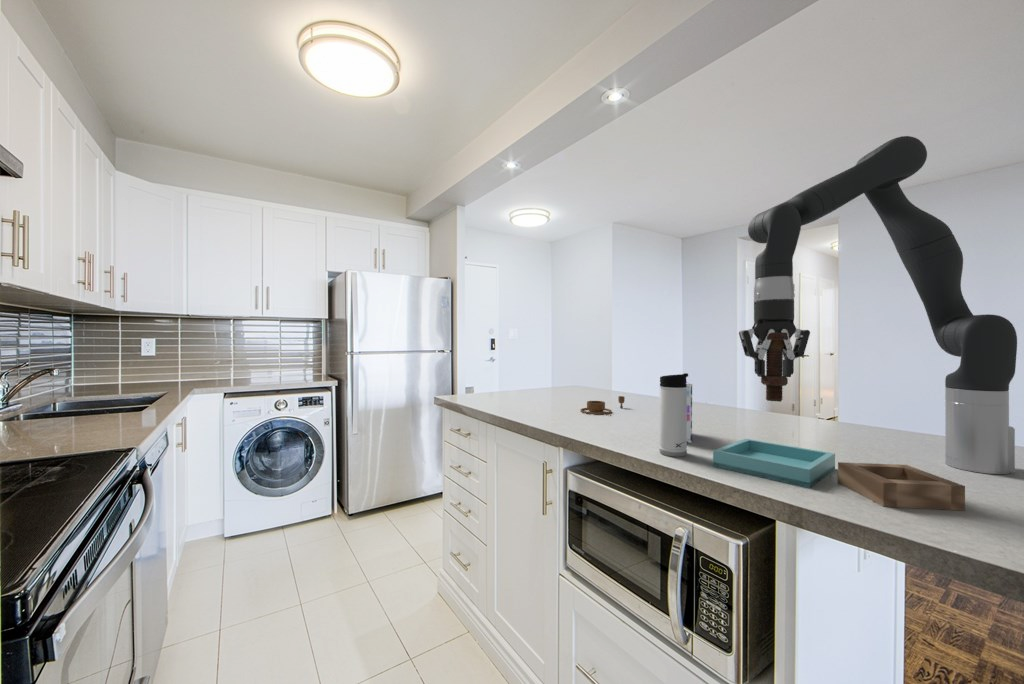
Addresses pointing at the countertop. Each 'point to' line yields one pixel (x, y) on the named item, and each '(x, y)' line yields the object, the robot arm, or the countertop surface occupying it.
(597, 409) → the place setting
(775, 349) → the bolt
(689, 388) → the candy box
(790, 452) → the tray
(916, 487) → the tray
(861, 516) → the countertop surface
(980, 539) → the countertop surface
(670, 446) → the travel mug
